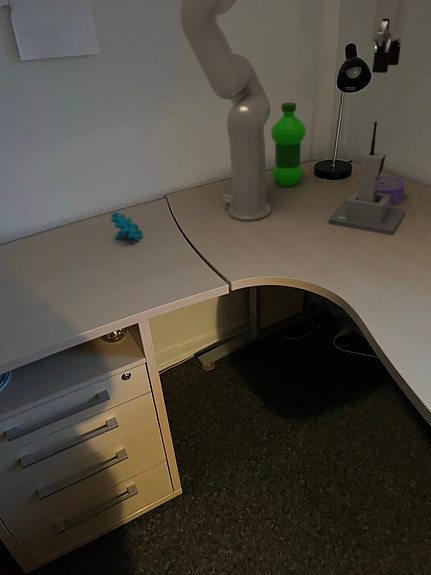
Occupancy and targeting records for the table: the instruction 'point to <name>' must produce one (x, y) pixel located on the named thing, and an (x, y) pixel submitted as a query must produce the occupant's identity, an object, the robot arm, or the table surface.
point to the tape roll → (391, 188)
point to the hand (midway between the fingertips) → (385, 68)
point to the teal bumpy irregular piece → (125, 226)
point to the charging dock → (368, 214)
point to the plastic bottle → (288, 146)
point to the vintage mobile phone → (370, 173)
